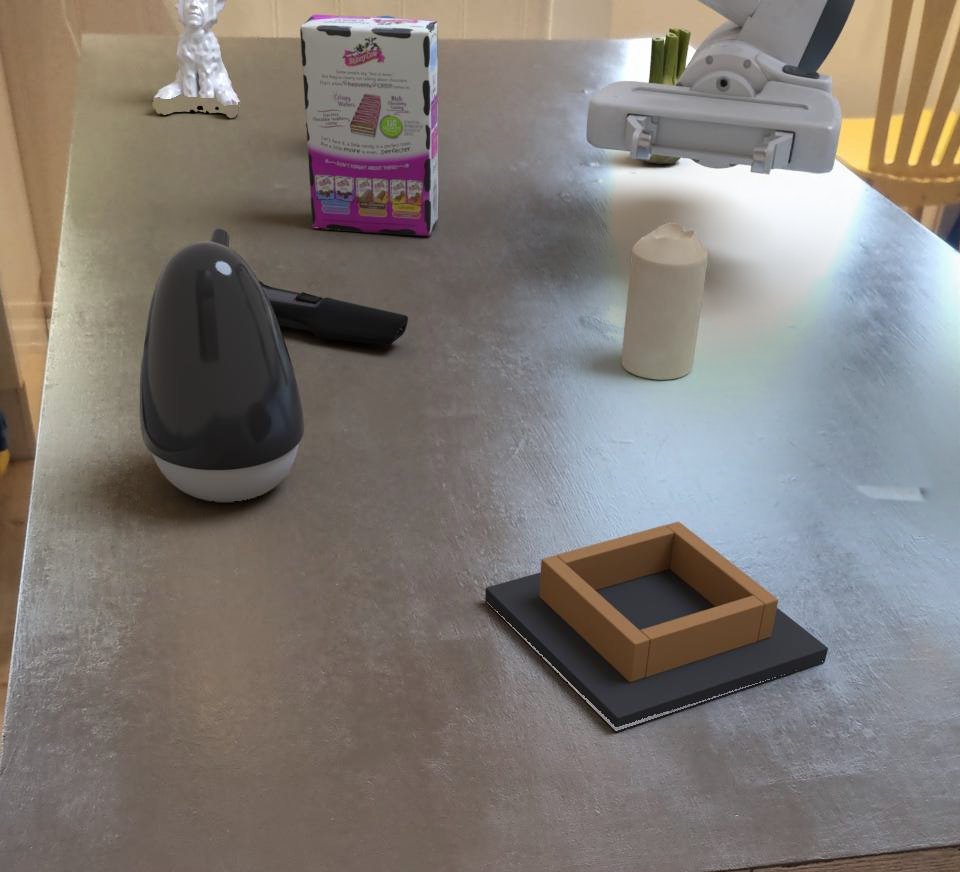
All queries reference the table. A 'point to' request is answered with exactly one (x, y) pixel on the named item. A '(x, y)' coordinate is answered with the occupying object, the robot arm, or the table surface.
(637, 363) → the candle
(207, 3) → the sitting furry creature
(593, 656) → the dock
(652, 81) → the fennel bulb
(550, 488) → the table surface
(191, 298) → the grey white egg shape
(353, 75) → the candy bar box
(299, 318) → the electric trimmer
